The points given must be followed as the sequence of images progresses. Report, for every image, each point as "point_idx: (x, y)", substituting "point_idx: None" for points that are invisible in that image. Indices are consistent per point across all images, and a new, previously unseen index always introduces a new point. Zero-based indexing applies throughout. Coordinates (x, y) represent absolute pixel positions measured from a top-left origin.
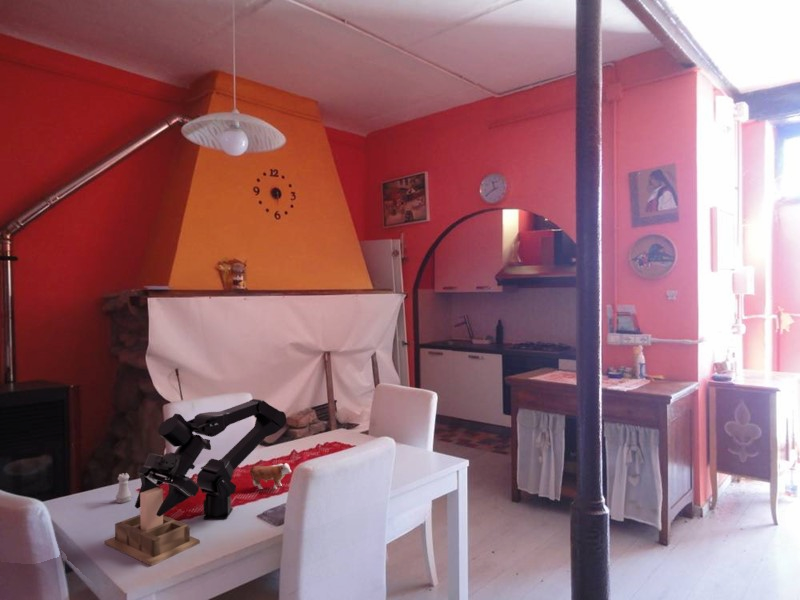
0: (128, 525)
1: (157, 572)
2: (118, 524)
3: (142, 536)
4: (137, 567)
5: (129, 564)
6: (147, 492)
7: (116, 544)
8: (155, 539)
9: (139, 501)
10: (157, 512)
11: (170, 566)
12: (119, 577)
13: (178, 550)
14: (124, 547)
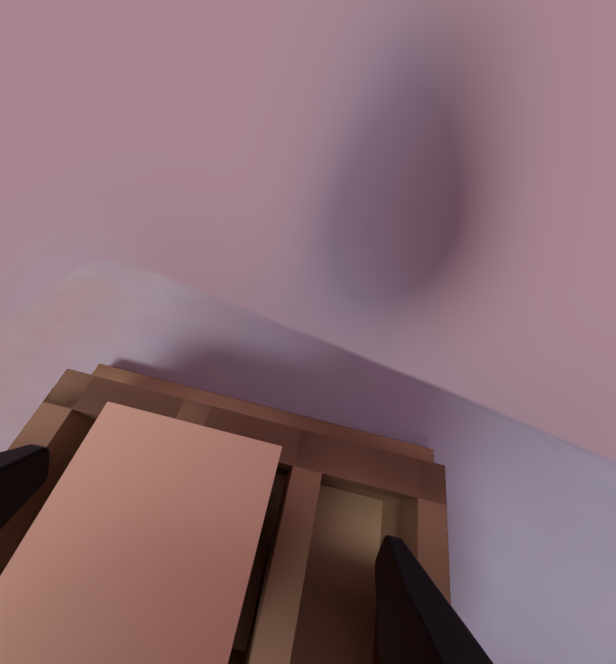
0: (355, 476)
1: (55, 341)
2: (420, 466)
3: (176, 398)
4: (157, 349)
5: (201, 357)
6: (150, 514)
7: (357, 439)
8: (65, 378)
9: (398, 597)
10: (22, 452)
11: (15, 387)
12: (178, 293)
13: None
14: (302, 427)
